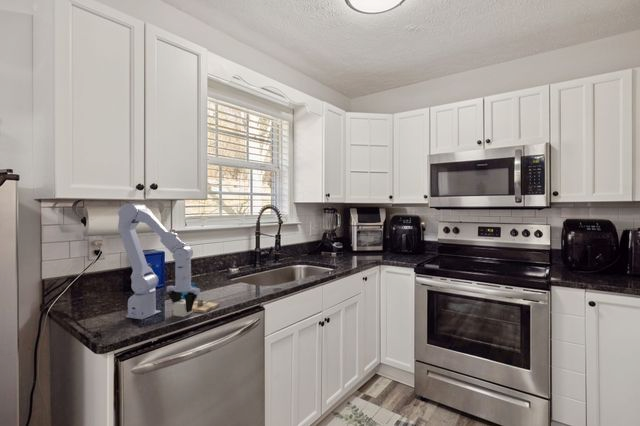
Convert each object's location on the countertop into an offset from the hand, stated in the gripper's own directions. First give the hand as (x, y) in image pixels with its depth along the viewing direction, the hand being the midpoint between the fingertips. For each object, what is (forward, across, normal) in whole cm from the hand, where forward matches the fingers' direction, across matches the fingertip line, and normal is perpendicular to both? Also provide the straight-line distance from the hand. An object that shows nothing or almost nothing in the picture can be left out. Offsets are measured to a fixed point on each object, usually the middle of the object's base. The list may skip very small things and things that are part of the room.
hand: (183, 310), depth 130 cm
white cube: (+1, 0, 0) cm, 1 cm away
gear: (+2, -14, +18) cm, 23 cm away
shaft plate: (+1, +1, +9) cm, 9 cm away
